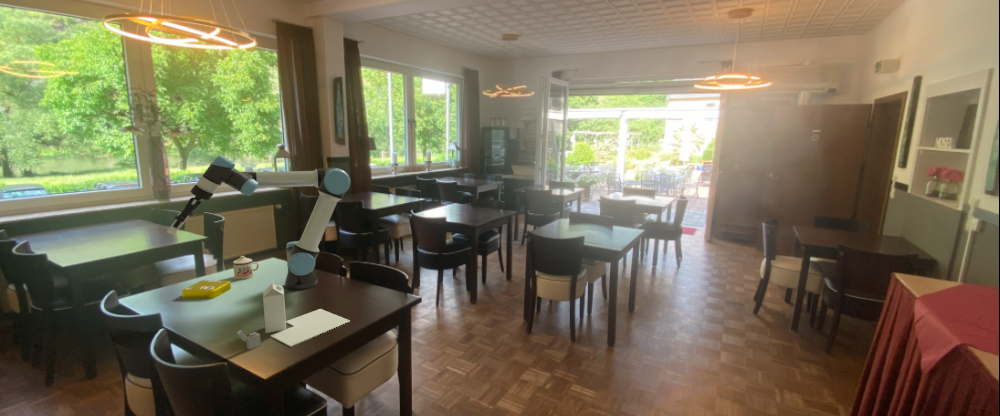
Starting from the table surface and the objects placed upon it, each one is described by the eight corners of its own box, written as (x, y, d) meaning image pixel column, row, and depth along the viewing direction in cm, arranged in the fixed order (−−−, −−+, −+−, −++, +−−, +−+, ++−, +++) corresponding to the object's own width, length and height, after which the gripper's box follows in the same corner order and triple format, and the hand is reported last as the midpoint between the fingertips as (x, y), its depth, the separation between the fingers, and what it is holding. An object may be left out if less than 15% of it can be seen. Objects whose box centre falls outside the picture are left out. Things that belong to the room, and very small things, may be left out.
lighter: (258, 343, 154) (256, 323, 153) (260, 345, 153) (259, 324, 152) (238, 351, 148) (236, 330, 147) (240, 353, 147) (238, 332, 146)
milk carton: (265, 333, 162) (262, 287, 158) (266, 326, 168) (262, 281, 165) (286, 330, 165) (283, 284, 162) (285, 323, 171) (282, 279, 168)
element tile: (232, 288, 209) (232, 279, 208) (213, 300, 194) (212, 290, 193) (202, 288, 208) (201, 279, 208) (180, 299, 194) (179, 290, 193)
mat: (320, 309, 185) (320, 308, 185) (350, 321, 173) (350, 320, 173) (260, 331, 163) (260, 330, 163) (290, 347, 152) (290, 345, 152)
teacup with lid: (236, 281, 218) (234, 259, 216) (232, 276, 225) (230, 255, 223) (261, 276, 226) (260, 255, 225) (257, 272, 233) (255, 252, 231)
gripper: (200, 180, 187) (170, 220, 184) (190, 187, 165) (156, 231, 162) (217, 189, 191) (187, 228, 188) (210, 197, 169) (176, 241, 166)
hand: (173, 230), depth 175 cm, fingers open, 13 cm apart
